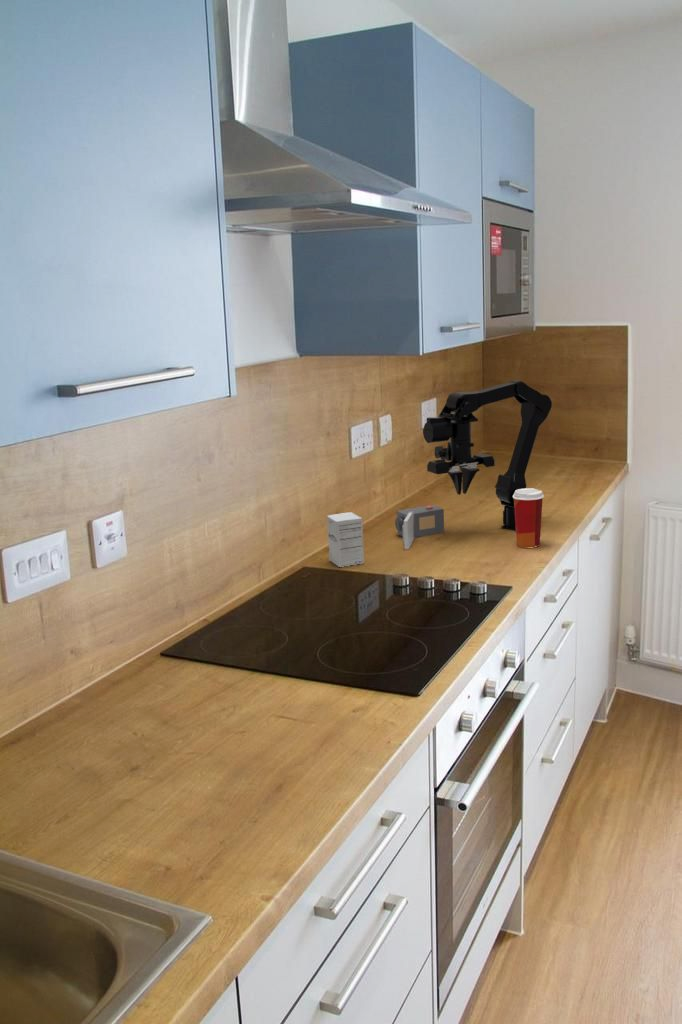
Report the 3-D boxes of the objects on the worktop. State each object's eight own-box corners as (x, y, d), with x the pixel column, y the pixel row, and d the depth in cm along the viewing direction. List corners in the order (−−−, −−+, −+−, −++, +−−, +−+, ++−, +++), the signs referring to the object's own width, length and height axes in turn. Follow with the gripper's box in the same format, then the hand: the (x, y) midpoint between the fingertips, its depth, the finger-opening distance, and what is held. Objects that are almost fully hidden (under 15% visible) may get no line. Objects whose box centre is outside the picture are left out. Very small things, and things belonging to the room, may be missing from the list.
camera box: (434, 527, 262) (433, 502, 261) (444, 532, 257) (443, 507, 255) (394, 534, 258) (393, 509, 256) (403, 539, 252) (402, 513, 250)
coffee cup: (532, 539, 246) (532, 486, 242) (550, 546, 238) (550, 492, 234) (506, 543, 243) (506, 490, 239) (523, 551, 235) (522, 496, 232)
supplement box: (328, 561, 236) (326, 515, 233) (354, 556, 239) (352, 511, 236) (338, 568, 230) (335, 521, 226) (365, 564, 232) (362, 517, 229)
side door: (409, 549, 242) (407, 521, 241) (402, 549, 243) (401, 521, 241) (414, 538, 253) (413, 511, 251) (408, 538, 253) (407, 511, 251)
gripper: (474, 431, 255) (475, 484, 259) (416, 438, 248) (418, 493, 252) (495, 436, 245) (496, 491, 249) (436, 444, 238) (438, 500, 242)
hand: (461, 493), depth 248 cm, fingers closed
